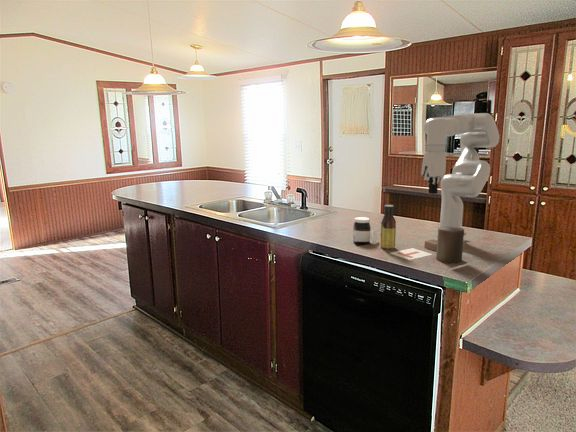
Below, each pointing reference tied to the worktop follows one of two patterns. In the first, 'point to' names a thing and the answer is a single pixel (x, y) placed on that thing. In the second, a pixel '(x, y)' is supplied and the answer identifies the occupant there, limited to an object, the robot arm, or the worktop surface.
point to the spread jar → (363, 232)
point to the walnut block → (431, 244)
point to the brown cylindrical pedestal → (450, 244)
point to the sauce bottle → (388, 229)
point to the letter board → (411, 253)
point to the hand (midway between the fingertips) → (432, 193)
